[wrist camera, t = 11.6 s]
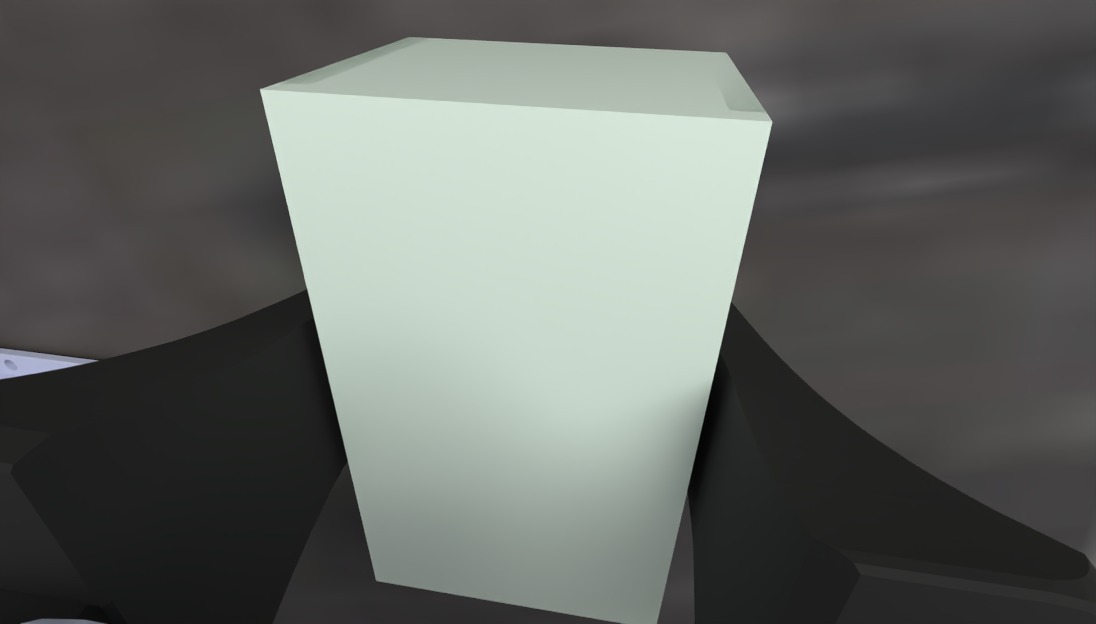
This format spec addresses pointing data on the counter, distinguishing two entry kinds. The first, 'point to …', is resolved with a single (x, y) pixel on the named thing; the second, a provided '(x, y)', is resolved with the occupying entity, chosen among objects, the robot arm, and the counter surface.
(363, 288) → the pale green block
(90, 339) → the counter surface
